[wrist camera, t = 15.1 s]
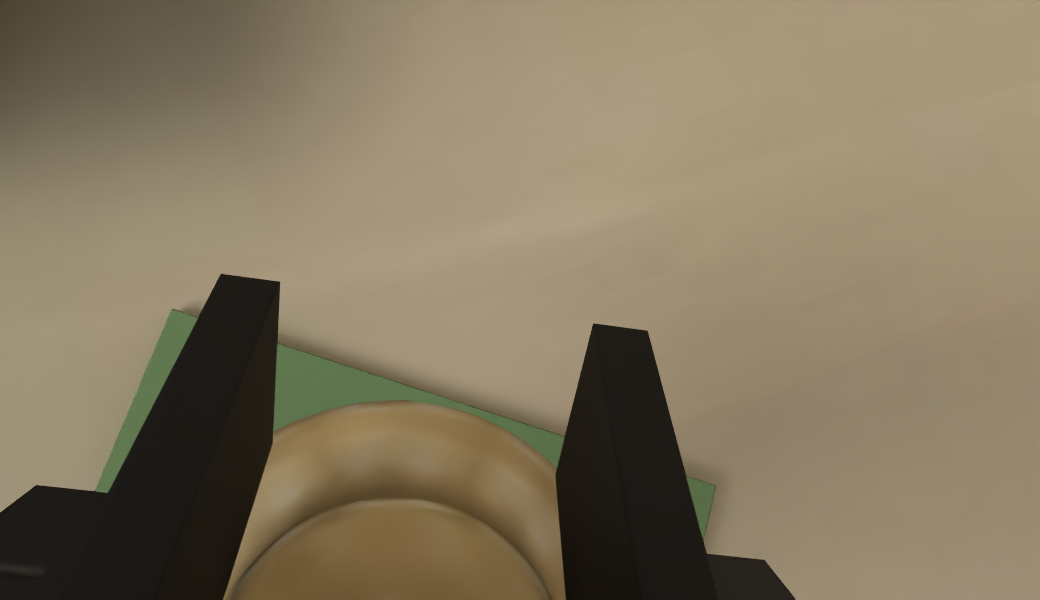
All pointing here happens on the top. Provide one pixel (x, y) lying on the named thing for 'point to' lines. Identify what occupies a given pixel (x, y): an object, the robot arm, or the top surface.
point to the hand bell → (401, 511)
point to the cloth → (326, 402)
